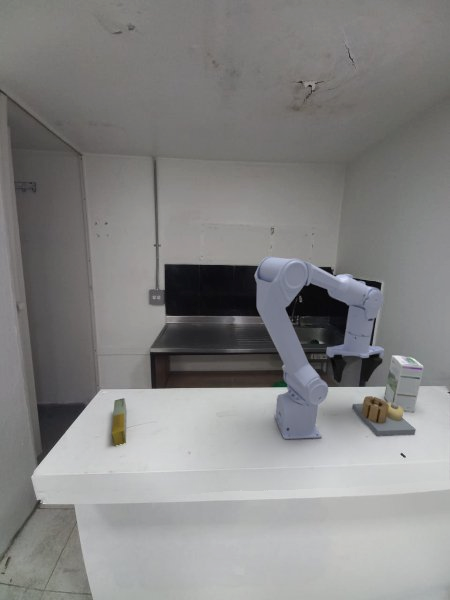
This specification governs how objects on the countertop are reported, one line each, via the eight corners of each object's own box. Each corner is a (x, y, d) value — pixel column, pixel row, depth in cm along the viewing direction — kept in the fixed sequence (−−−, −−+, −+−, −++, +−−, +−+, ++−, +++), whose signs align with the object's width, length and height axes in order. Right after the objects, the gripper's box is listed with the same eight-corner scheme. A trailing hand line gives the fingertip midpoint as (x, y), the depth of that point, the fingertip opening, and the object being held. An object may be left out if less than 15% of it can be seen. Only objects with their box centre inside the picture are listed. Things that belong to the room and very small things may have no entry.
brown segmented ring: (370, 423, 59) (373, 410, 58) (357, 409, 64) (359, 396, 63) (390, 423, 59) (393, 409, 59) (375, 408, 65) (378, 396, 64)
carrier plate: (376, 436, 57) (380, 418, 56) (352, 408, 67) (354, 393, 66) (414, 434, 58) (418, 417, 57) (384, 407, 68) (387, 392, 66)
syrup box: (414, 412, 66) (426, 366, 62) (391, 409, 67) (401, 363, 64) (404, 400, 71) (414, 356, 68) (382, 397, 72) (391, 354, 69)
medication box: (115, 412, 63) (114, 399, 62) (126, 409, 64) (125, 397, 63) (113, 448, 52) (111, 433, 51) (126, 444, 53) (124, 429, 52)
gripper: (339, 338, 55) (332, 389, 58) (397, 338, 56) (387, 388, 59) (324, 328, 62) (319, 374, 65) (376, 327, 63) (368, 373, 66)
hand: (350, 380), depth 62 cm, fingers open, 7 cm apart
